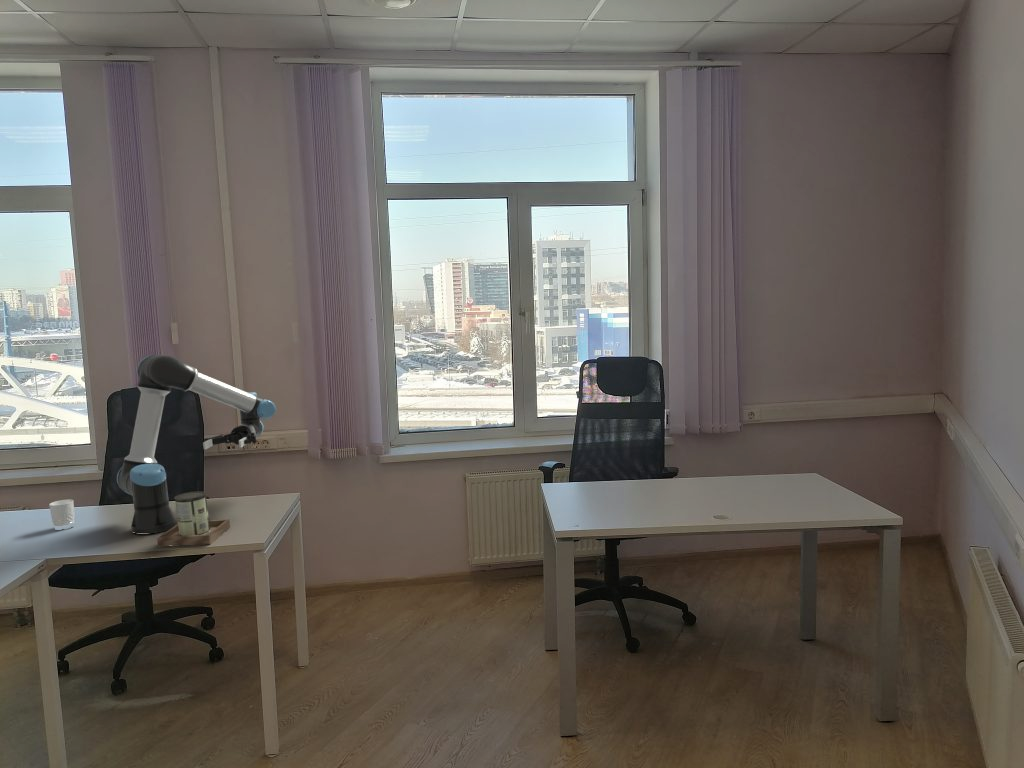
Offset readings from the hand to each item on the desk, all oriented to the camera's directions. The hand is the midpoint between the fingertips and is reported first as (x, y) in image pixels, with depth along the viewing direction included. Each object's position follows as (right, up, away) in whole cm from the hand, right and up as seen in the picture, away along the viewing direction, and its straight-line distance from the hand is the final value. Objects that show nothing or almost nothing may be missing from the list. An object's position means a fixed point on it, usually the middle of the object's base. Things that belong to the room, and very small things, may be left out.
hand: (222, 445), depth 287 cm
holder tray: (-2, -31, -20) cm, 37 cm away
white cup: (-60, -32, +1) cm, 68 cm away
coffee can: (-2, -30, -20) cm, 36 cm away
